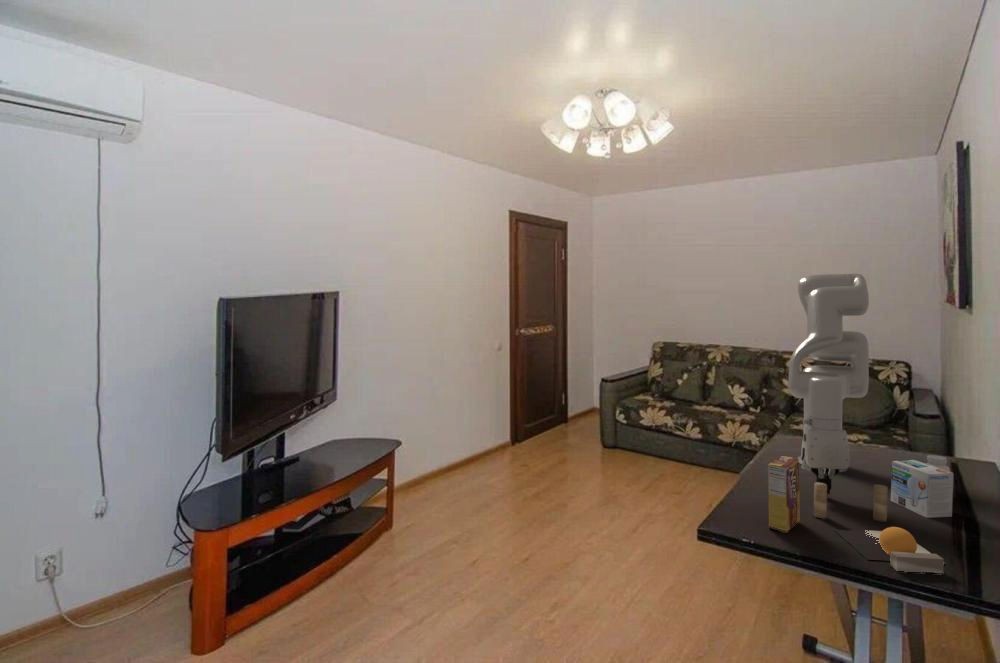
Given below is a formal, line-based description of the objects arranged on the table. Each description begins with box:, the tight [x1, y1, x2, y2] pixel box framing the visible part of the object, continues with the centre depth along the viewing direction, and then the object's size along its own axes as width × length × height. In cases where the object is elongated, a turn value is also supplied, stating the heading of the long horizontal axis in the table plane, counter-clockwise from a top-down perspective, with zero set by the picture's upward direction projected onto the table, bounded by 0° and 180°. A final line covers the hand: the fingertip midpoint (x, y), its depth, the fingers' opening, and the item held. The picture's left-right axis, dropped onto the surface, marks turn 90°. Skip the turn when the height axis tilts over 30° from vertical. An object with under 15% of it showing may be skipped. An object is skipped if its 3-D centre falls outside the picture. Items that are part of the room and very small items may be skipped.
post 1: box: [813, 482, 828, 519], centre depth 122 cm, size 3×3×8 cm
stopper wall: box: [889, 552, 945, 574], centre depth 97 cm, size 2×8×3 cm, turn 81°
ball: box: [879, 526, 918, 555], centre depth 102 cm, size 6×6×6 cm
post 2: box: [872, 484, 889, 523], centre depth 120 cm, size 3×3×8 cm
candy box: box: [767, 455, 801, 531], centre depth 117 cm, size 9×4×15 cm, turn 133°
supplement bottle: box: [924, 454, 951, 472], centre depth 136 cm, size 5×5×10 cm
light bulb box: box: [890, 459, 954, 519], centre depth 126 cm, size 11×7×11 cm, turn 5°
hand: (823, 492), depth 134 cm, fingers closed
